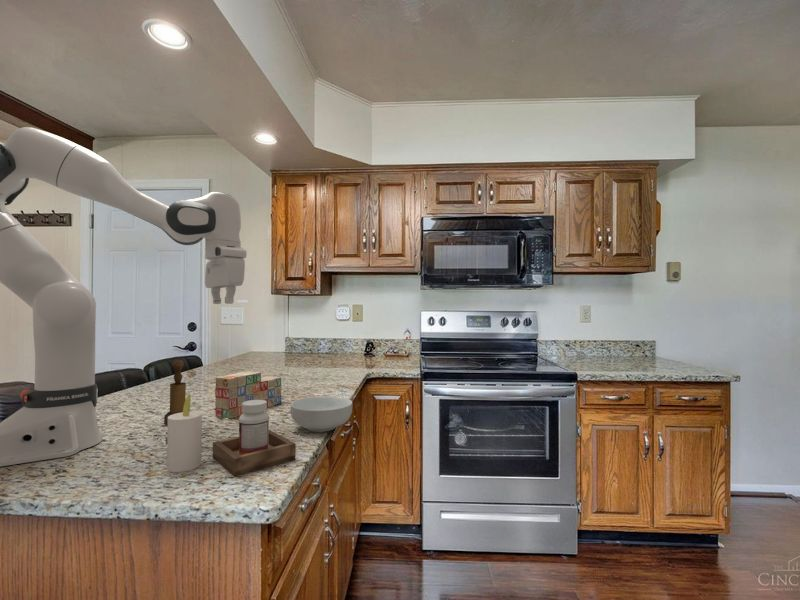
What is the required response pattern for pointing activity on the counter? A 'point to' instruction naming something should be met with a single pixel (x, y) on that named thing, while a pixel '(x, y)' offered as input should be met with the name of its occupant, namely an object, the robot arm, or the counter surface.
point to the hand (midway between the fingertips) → (222, 303)
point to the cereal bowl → (321, 412)
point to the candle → (184, 439)
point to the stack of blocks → (244, 392)
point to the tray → (253, 455)
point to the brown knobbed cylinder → (176, 391)
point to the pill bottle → (253, 427)
